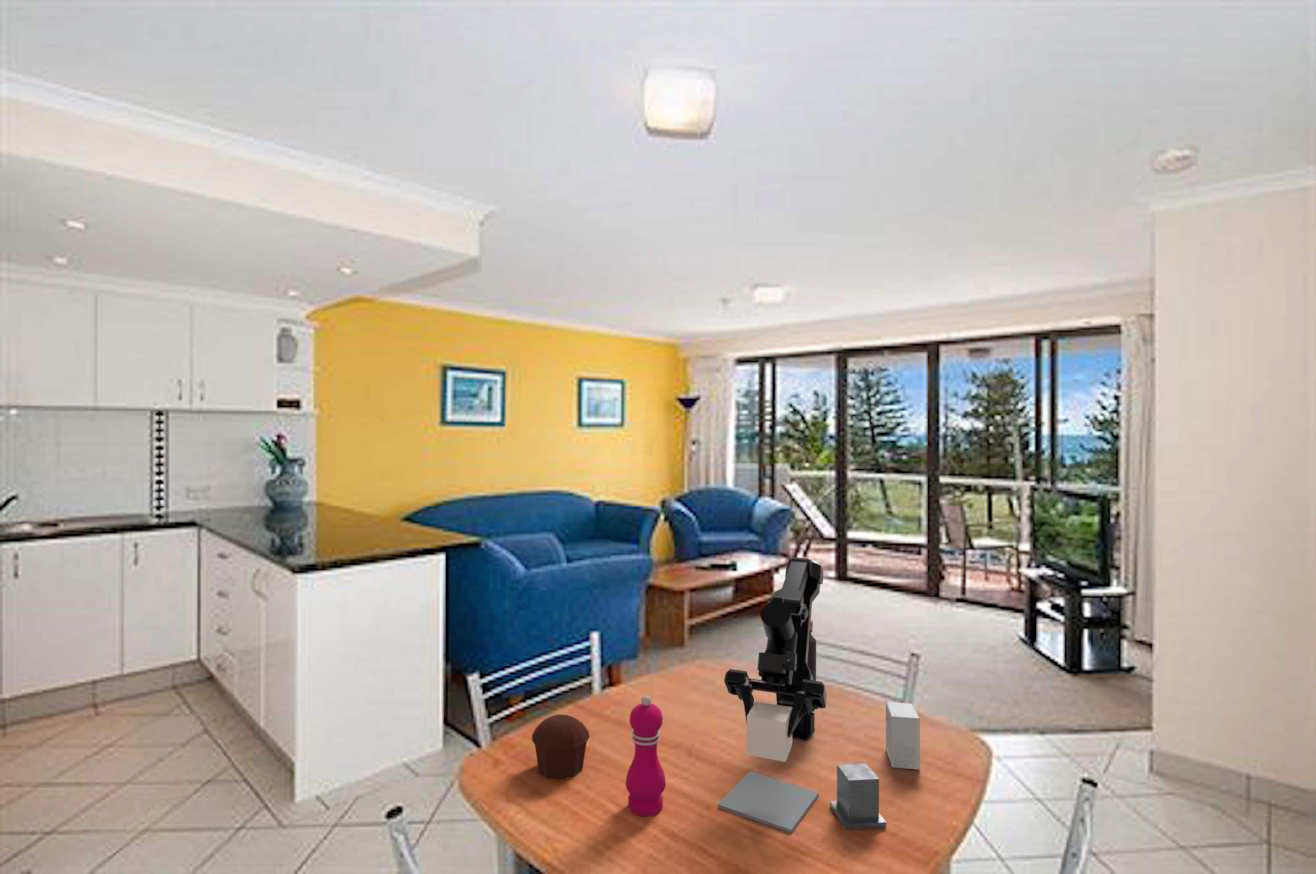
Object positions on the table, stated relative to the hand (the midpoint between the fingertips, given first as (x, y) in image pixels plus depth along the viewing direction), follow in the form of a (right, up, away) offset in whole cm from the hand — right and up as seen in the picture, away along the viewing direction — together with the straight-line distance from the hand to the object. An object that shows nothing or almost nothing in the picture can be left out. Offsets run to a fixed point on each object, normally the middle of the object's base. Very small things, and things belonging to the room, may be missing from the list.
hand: (768, 733), depth 118 cm
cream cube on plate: (+1, -4, +1) cm, 4 cm away
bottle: (+17, -14, +50) cm, 54 cm away
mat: (0, -13, +1) cm, 13 cm away
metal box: (+15, -13, -4) cm, 20 cm away
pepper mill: (-22, -13, -1) cm, 26 cm away
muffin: (-40, -13, +13) cm, 44 cm away
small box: (+31, -14, +17) cm, 38 cm away
